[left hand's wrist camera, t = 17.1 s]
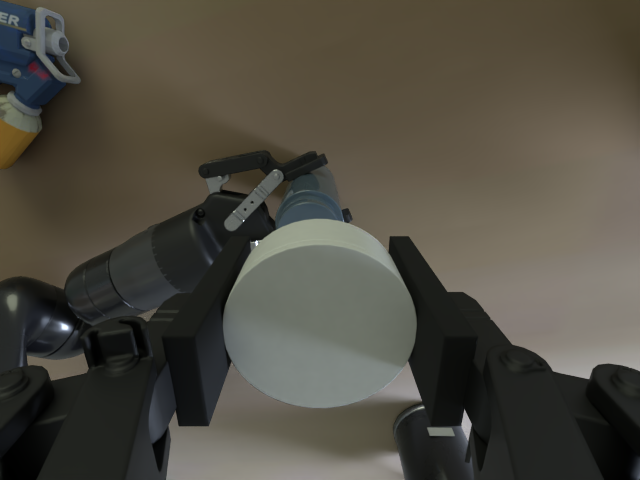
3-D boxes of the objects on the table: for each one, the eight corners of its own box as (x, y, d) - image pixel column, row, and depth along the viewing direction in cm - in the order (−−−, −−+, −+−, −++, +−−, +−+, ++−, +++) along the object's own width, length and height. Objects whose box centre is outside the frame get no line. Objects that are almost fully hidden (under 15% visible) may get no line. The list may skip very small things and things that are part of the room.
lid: (297, 382, 14) (294, 433, 11) (205, 273, 12) (180, 309, 10) (427, 315, 12) (450, 358, 10) (347, 185, 11) (354, 203, 9)
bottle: (290, 160, 36) (272, 194, 22) (337, 164, 36) (350, 200, 22) (288, 205, 38) (270, 265, 23) (332, 208, 38) (342, 270, 23)
